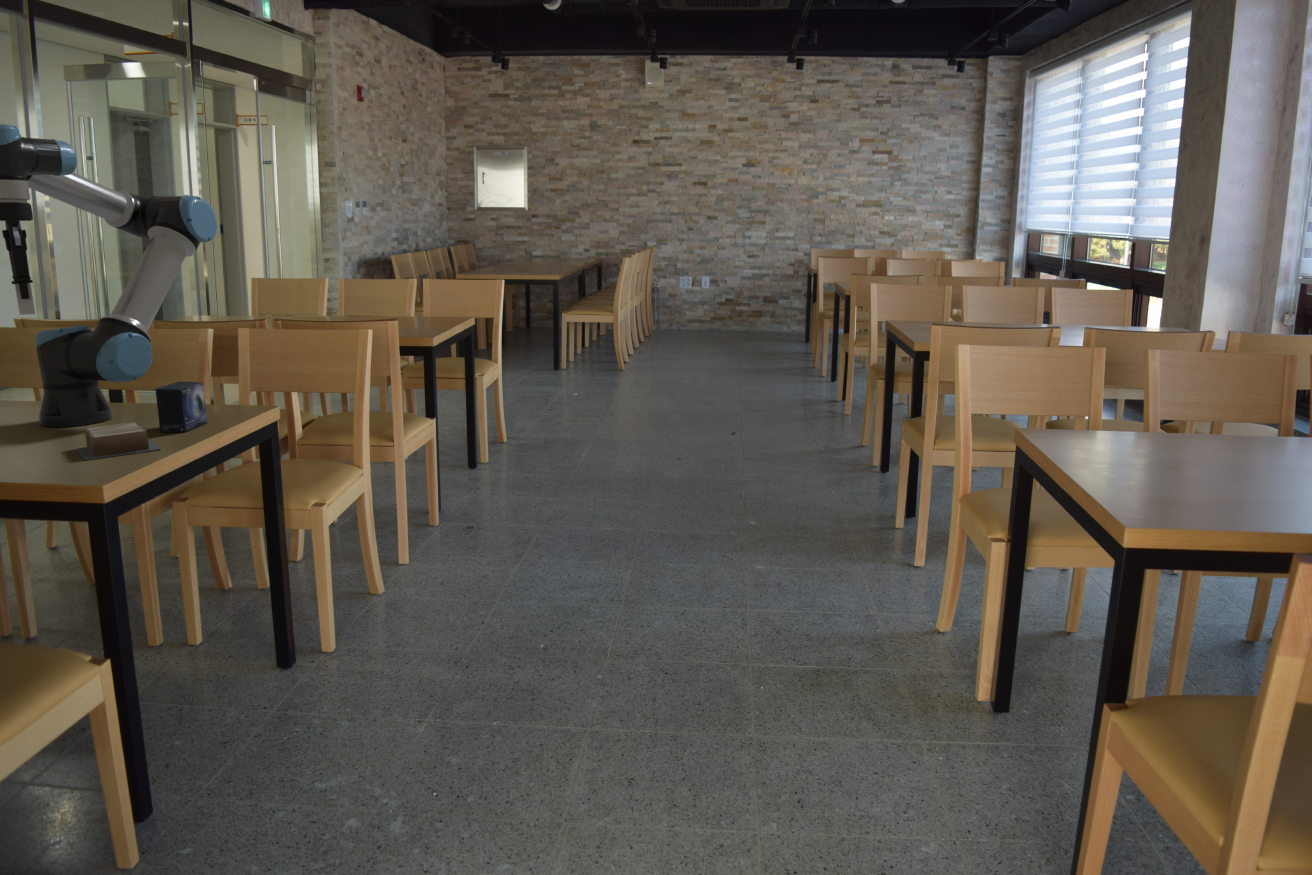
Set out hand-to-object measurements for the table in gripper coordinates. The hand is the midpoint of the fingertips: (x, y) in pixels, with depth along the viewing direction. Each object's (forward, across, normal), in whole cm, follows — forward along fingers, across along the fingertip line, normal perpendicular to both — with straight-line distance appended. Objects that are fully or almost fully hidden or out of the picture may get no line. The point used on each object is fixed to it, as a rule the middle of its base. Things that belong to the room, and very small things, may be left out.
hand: (27, 314), depth 196 cm
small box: (+29, +4, +27) cm, 40 cm away
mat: (+28, +19, +11) cm, 36 cm away
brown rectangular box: (+26, +12, +11) cm, 31 cm away
